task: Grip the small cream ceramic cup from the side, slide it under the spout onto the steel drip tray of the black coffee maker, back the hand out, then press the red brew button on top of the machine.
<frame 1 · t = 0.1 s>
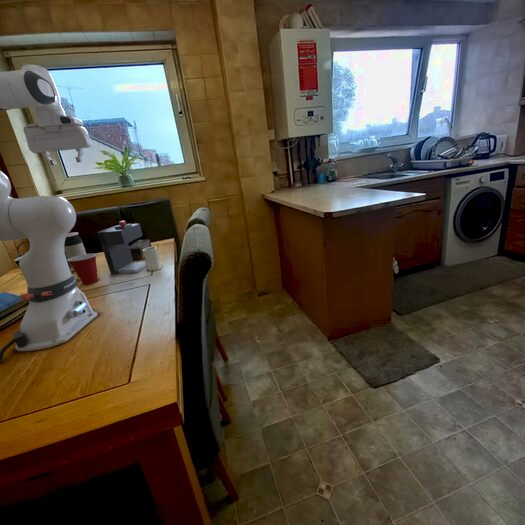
hand: (66, 163, 102), 48 cm above the table, tool pointing down, fingers open, 8 cm apart
creamer cup: (154, 268, 129), on the table
travel mug: (82, 269, 140), on the table
pillar candle: (75, 264, 149), on the table
plastic cup: (91, 282, 121), on the table
coffee maker: (131, 268, 131), on the table
beverage carton: (140, 255, 152), on the table
brew button: (122, 223, 123), point 22 cm above the table, slide at 0.1 cm
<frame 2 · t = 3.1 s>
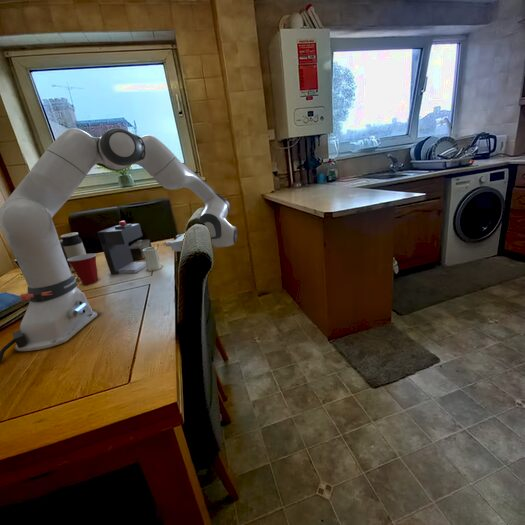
hand: (171, 240, 122), 13 cm above the table, tool horizontal, fingers open, 8 cm apart
nothing on the table moved.
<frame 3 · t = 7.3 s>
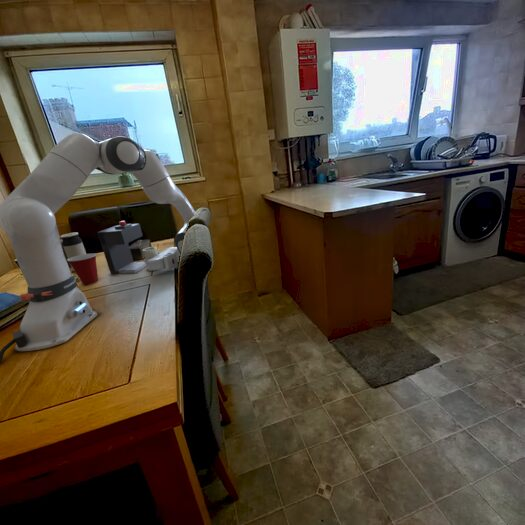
hand: (150, 257, 127), 5 cm above the table, tool horizontal, fingers closed on creamer cup, 6 cm apart
creamer cup: (154, 268, 129), on the table, touching gripper
everything else where it was.
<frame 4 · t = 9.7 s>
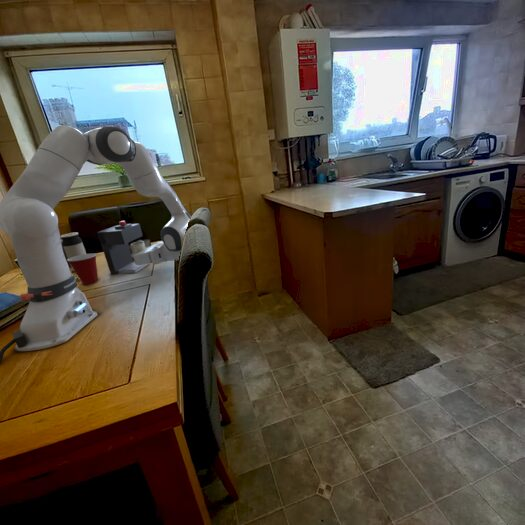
hand: (137, 252, 127), 8 cm above the table, tool horizontal, fingers closed on creamer cup, 6 cm apart
creamer cup: (142, 262, 129), point 3 cm above the table, touching gripper
everything else where it was.
when the fingers open (7 cm above the table, at t = 11.9 s): creamer cup stays where it is, resting on coffee maker.
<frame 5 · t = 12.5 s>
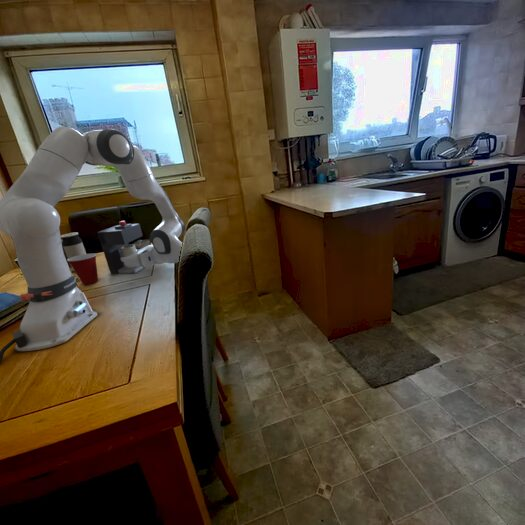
hand: (128, 255, 129), 7 cm above the table, tool horizontal, fingers open, 8 cm apart
creamer cup: (133, 265, 131), point 1 cm above the table, touching coffee maker
everything else where it was.
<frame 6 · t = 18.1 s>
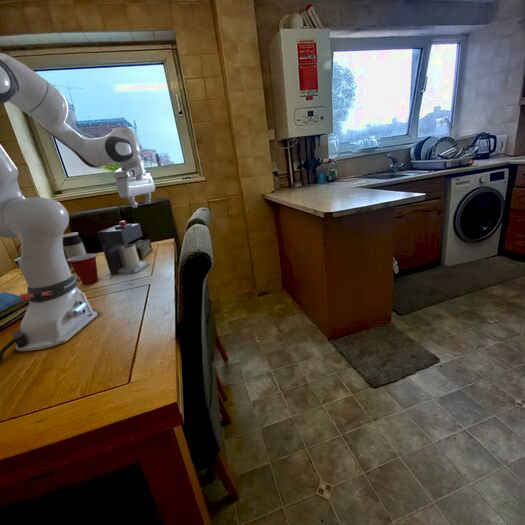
hand: (142, 205, 118), 29 cm above the table, tool pointing down, fingers open, 8 cm apart
nothing on the table moved.
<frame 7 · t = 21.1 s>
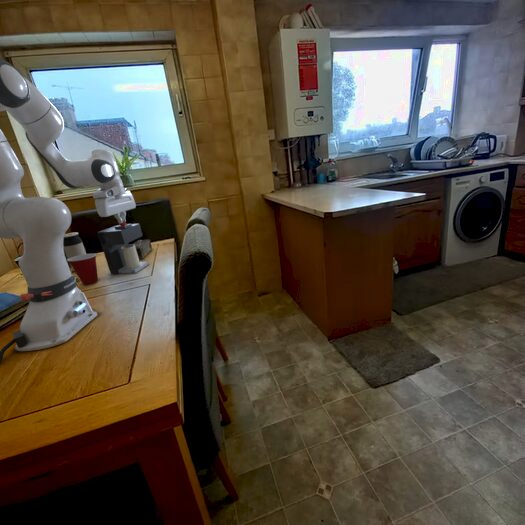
hand: (122, 222, 123), 22 cm above the table, tool pointing down, fingers closed, pressing on brew button
brew button: (123, 224, 123), point 21 cm above the table, slide at -0.6 cm, touching gripper
everything else where it was.
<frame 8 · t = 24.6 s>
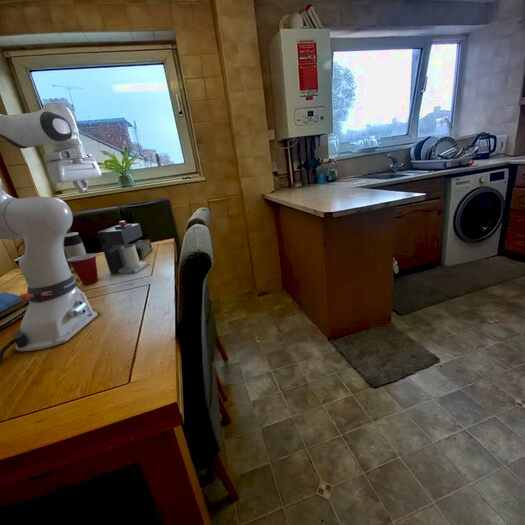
hand: (84, 192, 107), 37 cm above the table, tool pointing down, fingers closed
brew button: (122, 223, 123), point 22 cm above the table, slide at 0.1 cm
everything else where it was.
at the end: creamer cup 0.1 cm from the target spot on the coffee maker, point 1.5 cm above the coffee maker's base; creamer cup tilted 0°; brew button pushed in 0.7 cm at the most during the clip, back to where it started at the end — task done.
